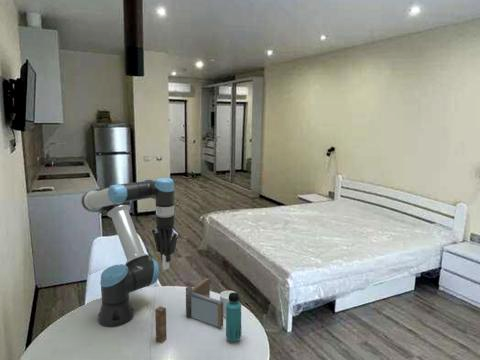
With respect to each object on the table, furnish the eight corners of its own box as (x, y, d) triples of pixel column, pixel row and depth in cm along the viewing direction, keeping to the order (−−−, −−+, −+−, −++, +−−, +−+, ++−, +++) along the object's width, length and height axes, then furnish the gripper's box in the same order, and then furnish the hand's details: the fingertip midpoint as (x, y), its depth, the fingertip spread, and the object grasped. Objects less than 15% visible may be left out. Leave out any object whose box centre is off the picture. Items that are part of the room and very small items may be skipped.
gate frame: (156, 341, 139) (155, 309, 137) (205, 299, 173) (205, 273, 171) (161, 343, 137) (161, 311, 135) (210, 301, 171) (210, 274, 169)
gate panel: (190, 317, 155) (190, 293, 153) (194, 314, 157) (194, 291, 155) (220, 327, 147) (220, 303, 145) (223, 325, 149) (223, 300, 147)
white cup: (234, 320, 155) (234, 299, 153) (217, 318, 156) (218, 297, 155) (238, 311, 163) (238, 291, 161) (222, 309, 164) (222, 289, 163)
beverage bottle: (235, 346, 136) (236, 300, 133) (222, 341, 140) (222, 295, 136) (244, 338, 142) (245, 293, 139) (231, 333, 145) (231, 289, 142)
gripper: (146, 215, 142) (148, 268, 146) (172, 219, 137) (173, 274, 140) (158, 211, 149) (159, 262, 153) (183, 215, 143) (183, 268, 147)
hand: (166, 268), depth 147 cm, fingers closed
